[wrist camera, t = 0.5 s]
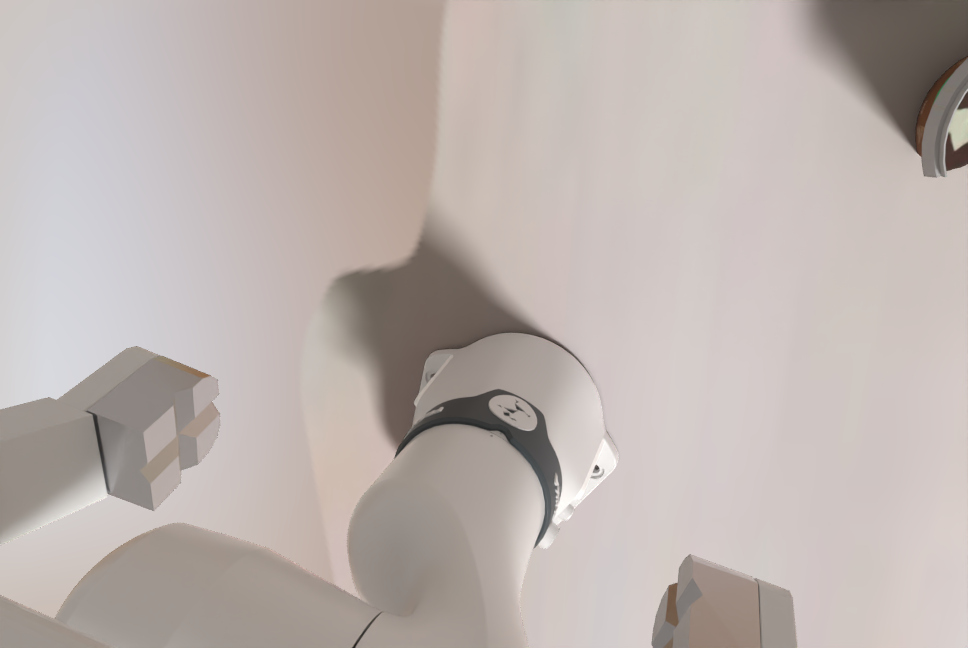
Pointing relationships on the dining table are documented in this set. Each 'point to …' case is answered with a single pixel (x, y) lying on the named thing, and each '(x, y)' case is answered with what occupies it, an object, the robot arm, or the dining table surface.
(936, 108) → the food container
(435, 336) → the dining table surface
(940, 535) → the dining table surface
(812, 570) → the dining table surface
